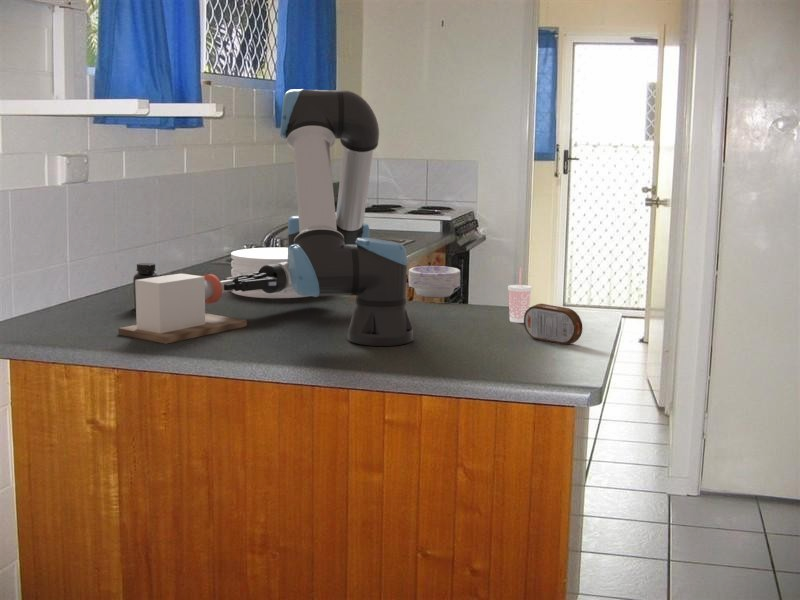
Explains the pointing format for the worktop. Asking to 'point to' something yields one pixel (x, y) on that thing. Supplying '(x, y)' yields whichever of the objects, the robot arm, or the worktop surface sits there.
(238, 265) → the plate stack
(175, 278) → the block
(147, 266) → the supplement bottle
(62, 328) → the worktop surface
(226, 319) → the board
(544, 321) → the tin
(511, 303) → the beverage cup
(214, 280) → the plug
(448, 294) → the paper bowls
